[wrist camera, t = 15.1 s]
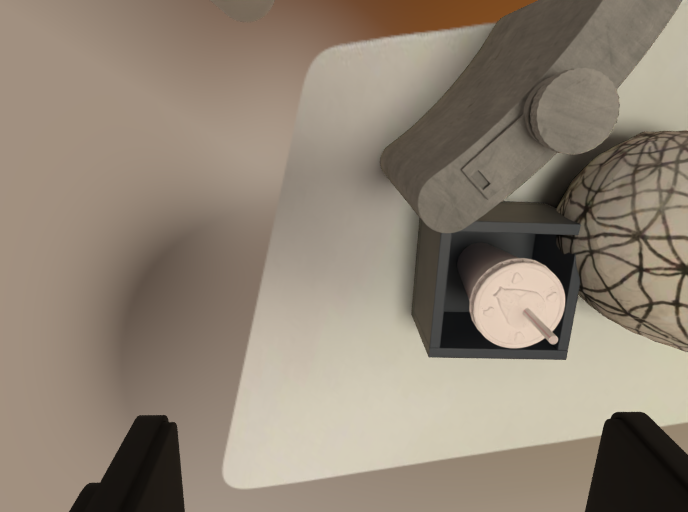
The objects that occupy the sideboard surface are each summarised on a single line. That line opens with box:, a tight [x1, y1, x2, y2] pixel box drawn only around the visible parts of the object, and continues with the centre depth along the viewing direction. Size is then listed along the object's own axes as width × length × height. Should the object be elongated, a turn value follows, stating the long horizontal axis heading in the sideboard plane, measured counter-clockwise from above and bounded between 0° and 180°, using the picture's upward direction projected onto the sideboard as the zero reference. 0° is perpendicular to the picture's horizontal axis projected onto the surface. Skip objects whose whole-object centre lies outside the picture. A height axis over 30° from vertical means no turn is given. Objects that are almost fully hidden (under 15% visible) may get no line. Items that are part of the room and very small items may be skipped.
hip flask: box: [380, 0, 682, 233], centre depth 31 cm, size 16×4×20 cm, turn 139°
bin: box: [412, 202, 581, 360], centre depth 41 cm, size 11×11×8 cm
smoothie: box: [457, 243, 565, 348], centre depth 37 cm, size 6×6×14 cm
